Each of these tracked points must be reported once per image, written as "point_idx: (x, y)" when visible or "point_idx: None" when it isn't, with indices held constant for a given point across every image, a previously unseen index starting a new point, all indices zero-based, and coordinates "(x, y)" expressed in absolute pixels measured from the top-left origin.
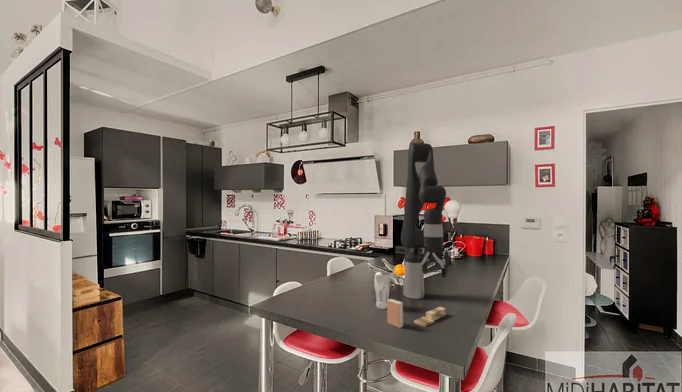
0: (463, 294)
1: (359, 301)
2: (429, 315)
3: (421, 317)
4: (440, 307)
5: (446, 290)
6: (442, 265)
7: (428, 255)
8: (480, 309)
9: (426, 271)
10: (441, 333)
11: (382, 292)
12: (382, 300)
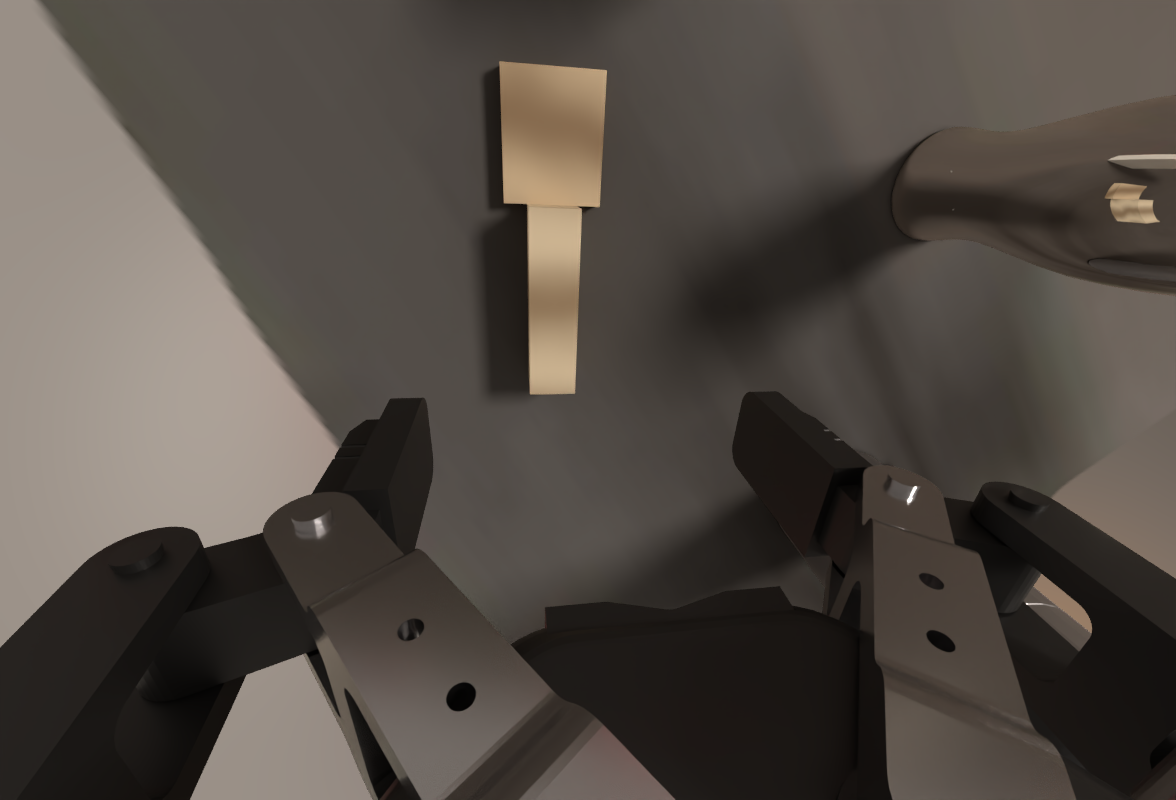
0: None
1: None
2: (546, 206)
3: (599, 178)
4: (563, 382)
5: None
6: (312, 538)
7: (886, 698)
8: (451, 578)
9: (749, 452)
10: (333, 36)
11: (1050, 133)
12: (979, 145)
